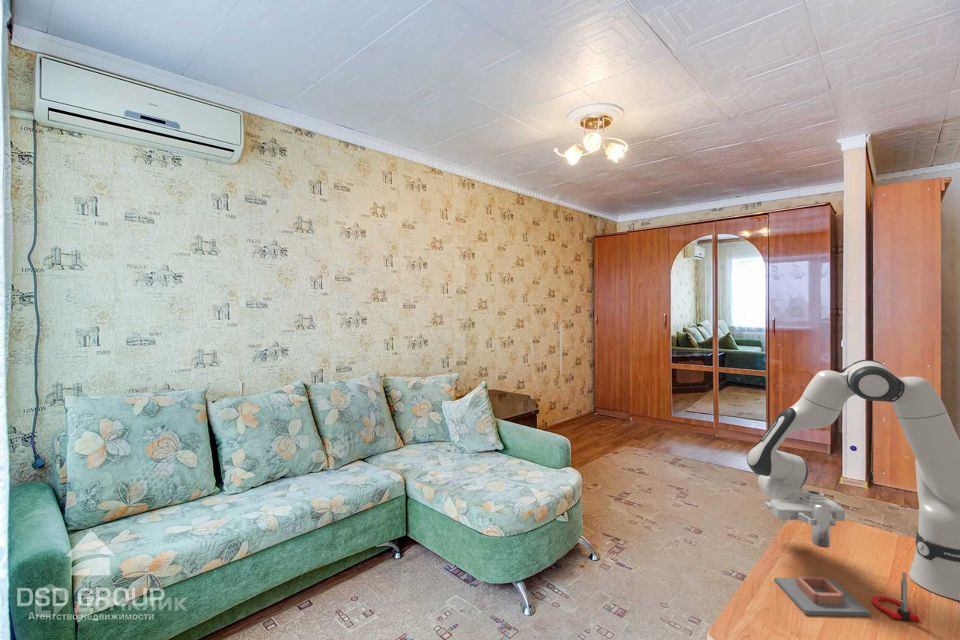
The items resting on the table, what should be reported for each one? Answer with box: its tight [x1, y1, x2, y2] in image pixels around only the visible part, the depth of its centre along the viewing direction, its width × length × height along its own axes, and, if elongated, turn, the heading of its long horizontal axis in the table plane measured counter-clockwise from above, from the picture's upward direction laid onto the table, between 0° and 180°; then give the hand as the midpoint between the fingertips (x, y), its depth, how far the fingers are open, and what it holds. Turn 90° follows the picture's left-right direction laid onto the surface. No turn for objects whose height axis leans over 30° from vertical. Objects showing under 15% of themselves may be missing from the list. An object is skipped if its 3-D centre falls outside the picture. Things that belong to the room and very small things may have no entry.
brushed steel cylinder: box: [811, 502, 832, 549], centre depth 134 cm, size 4×4×12 cm
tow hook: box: [871, 571, 920, 622], centre depth 123 cm, size 8×13×9 cm
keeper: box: [773, 575, 871, 617], centre depth 128 cm, size 17×14×4 cm
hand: (823, 523), depth 133 cm, fingers closed on brushed steel cylinder, 4 cm apart
